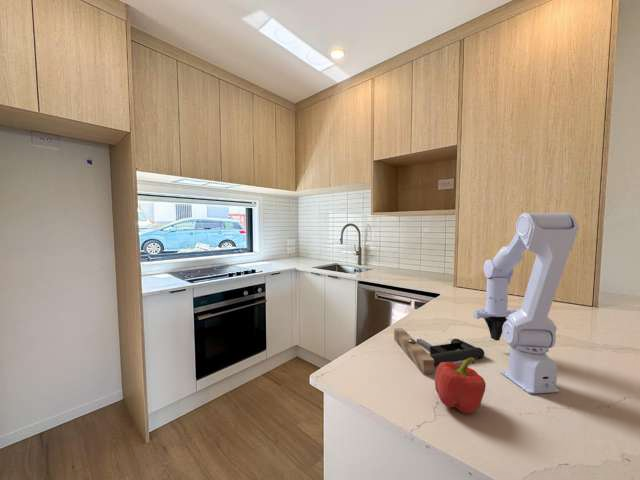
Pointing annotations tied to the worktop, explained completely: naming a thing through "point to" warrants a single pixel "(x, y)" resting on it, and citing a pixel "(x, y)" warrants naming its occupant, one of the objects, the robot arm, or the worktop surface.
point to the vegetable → (459, 386)
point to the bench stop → (414, 351)
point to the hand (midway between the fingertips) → (495, 339)
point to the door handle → (452, 351)
